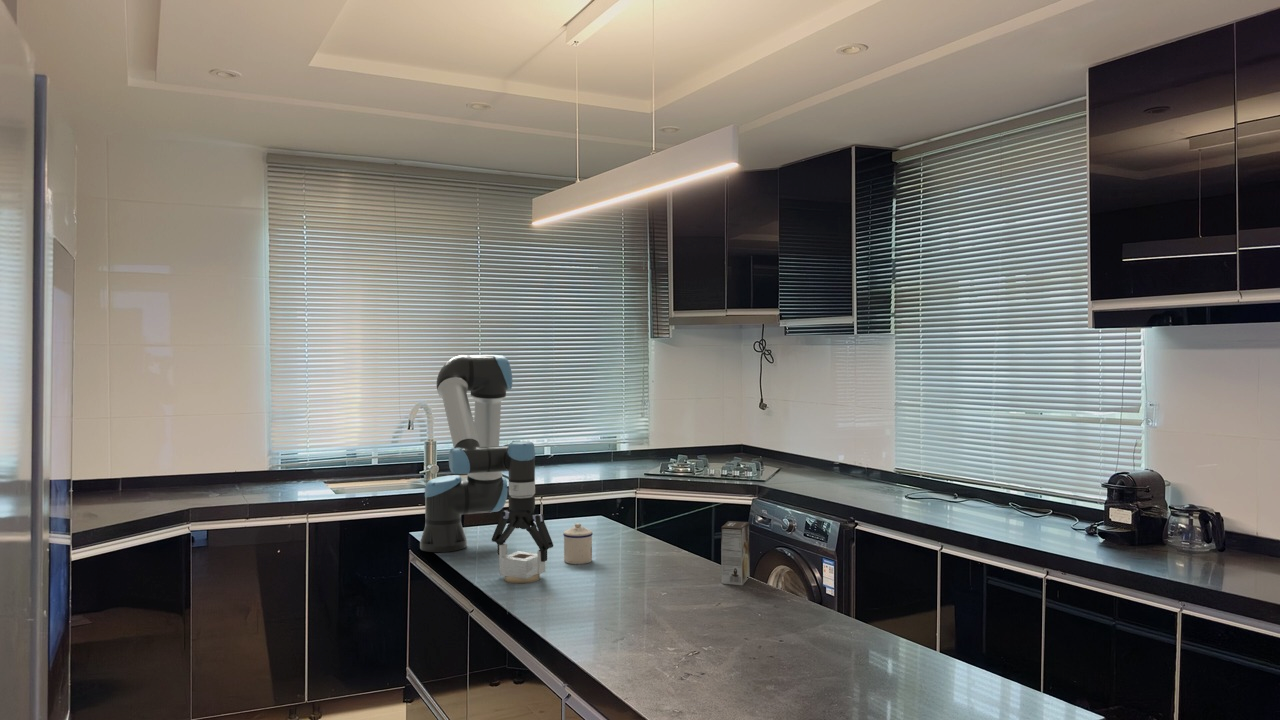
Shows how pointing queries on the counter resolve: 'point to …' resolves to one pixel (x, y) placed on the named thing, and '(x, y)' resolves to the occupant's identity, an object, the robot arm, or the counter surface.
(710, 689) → the counter surface
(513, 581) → the hub
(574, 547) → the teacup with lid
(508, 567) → the white boxy piece
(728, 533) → the coffee box
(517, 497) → the robot arm
